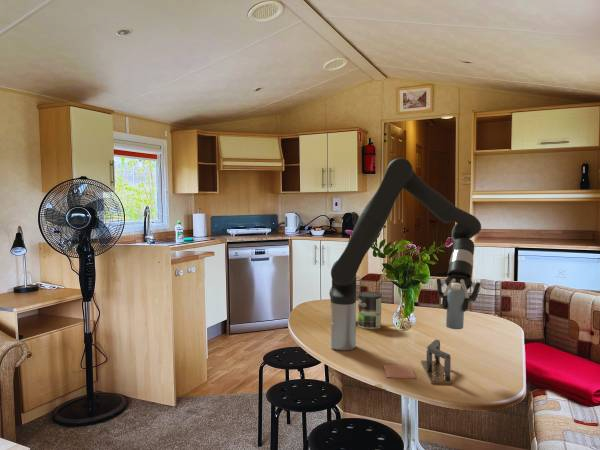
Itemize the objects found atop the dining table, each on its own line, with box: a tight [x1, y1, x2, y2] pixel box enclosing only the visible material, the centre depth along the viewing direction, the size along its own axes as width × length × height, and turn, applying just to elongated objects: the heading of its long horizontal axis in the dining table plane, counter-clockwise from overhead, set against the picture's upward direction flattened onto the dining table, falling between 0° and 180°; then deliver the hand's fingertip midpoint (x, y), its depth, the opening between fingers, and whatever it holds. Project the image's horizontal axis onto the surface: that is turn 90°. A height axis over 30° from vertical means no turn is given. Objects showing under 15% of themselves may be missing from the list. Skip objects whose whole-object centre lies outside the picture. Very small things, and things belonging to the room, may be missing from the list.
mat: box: [383, 364, 417, 379], centre depth 152 cm, size 9×10×1 cm
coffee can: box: [357, 291, 383, 330], centre depth 203 cm, size 10×10×14 cm
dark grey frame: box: [420, 339, 453, 385], centre depth 150 cm, size 6×17×9 cm, turn 176°
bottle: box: [445, 283, 465, 330], centre depth 148 cm, size 5×5×14 cm
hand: (454, 309), depth 147 cm, fingers closed on bottle, 5 cm apart
